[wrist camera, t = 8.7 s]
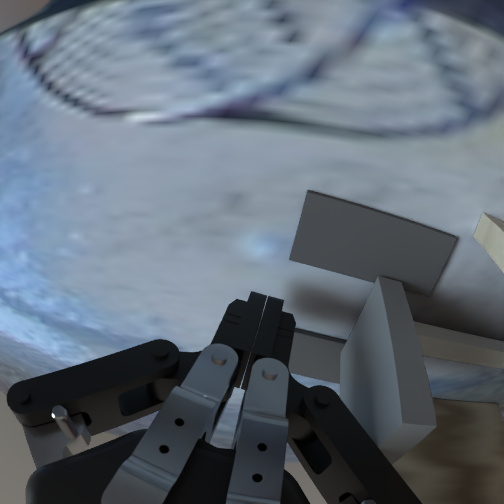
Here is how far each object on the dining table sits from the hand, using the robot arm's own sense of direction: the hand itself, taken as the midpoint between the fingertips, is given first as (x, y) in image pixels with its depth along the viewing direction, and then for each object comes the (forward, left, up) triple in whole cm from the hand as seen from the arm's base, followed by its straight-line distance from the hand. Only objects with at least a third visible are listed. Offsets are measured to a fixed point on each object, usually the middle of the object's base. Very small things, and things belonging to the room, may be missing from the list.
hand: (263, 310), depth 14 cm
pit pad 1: (+3, +4, -2) cm, 5 cm away
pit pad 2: (-4, +4, -2) cm, 6 cm away
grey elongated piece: (0, +18, -1) cm, 18 cm away
